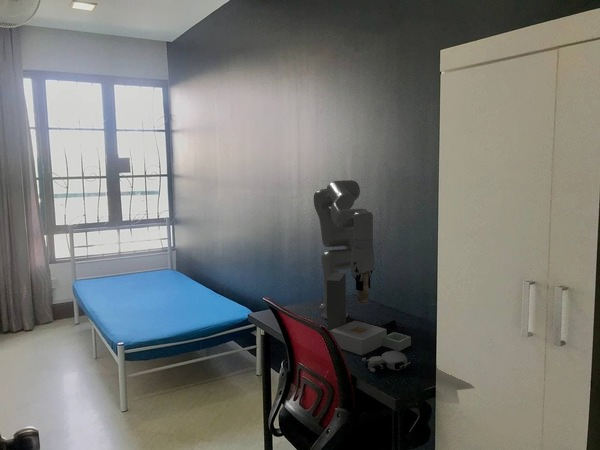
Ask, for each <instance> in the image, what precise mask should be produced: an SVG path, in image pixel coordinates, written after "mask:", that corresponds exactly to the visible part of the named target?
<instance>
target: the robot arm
mask: <svg viewBox="0 0 600 450" xmlns="http://www.w3.org/2000/svg"><path fill="white" fill-rule="evenodd" d="M360 194H361V188H360V185H359V183H358V182H357V181H355V180H352V179H351V180H350V179H345V180H333V181H331V182H329V183H328V185H327V187H326V188H322V189H318V190H316V191H315V192H314V193H313V205H314V209H315V212H316V214H317V217H318V220H319V227H320V233H321V240H322V244H323V246H324V247H326V248H339V249H331V250H330V249H329V250H325V251H324V252H323V253H322V255H321V257H320V258H321V265H322V271H323V272H322V273H323V303H321V304H320V305H319V307H318V309H319V310H322V312H321V314H320V316H321V318H322V319H324V320H327V279H328V278H329V277H330V276H331V275H332V274H333V273H334V272H335V273H340V271H343V270H344V271H345V270H350V272H351V273H350V275H351V276H352V277H353V278H354V281H355V290H356V291H358V290H359V291H363V281H362V278H363V273H365V272H367V271H368V289H371V279H372V274H373V272H374V270H375V251H374V232H373V231H374V215H373V213H372V212H371V211H368V209H366V208H352V207H353V206H354V204H355V201H356V200H357V199H358V198H359V196H360ZM340 247H345V248H343V249H340ZM358 274H360V277H359V275H358ZM348 317H349V313H348V312H347V311H346V319H347V318H348Z"/></svg>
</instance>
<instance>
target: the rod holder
mask: <svg viewBox="0 0 600 450" xmlns="http://www.w3.org/2000/svg"><path fill="white" fill-rule="evenodd" d="M411 345H412V336H410V335H406V334H403V333H398V332H395V331H392V332H391V333H389V334H387V335H386V336H384V337H382V346H381V347H384V348H389V349H392V350H393V351H394V350H396V349H398V350H397V351H399V352H401V351H402V350H404V349H406V348H408V347H410V346H411Z"/></svg>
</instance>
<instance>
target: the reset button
mask: <svg viewBox="0 0 600 450" xmlns="http://www.w3.org/2000/svg"><path fill="white" fill-rule="evenodd" d="M352 332H356V333H359V334H360V333H362V332H365V331H362V330H359V329H356V330H354V331H352Z"/></svg>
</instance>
